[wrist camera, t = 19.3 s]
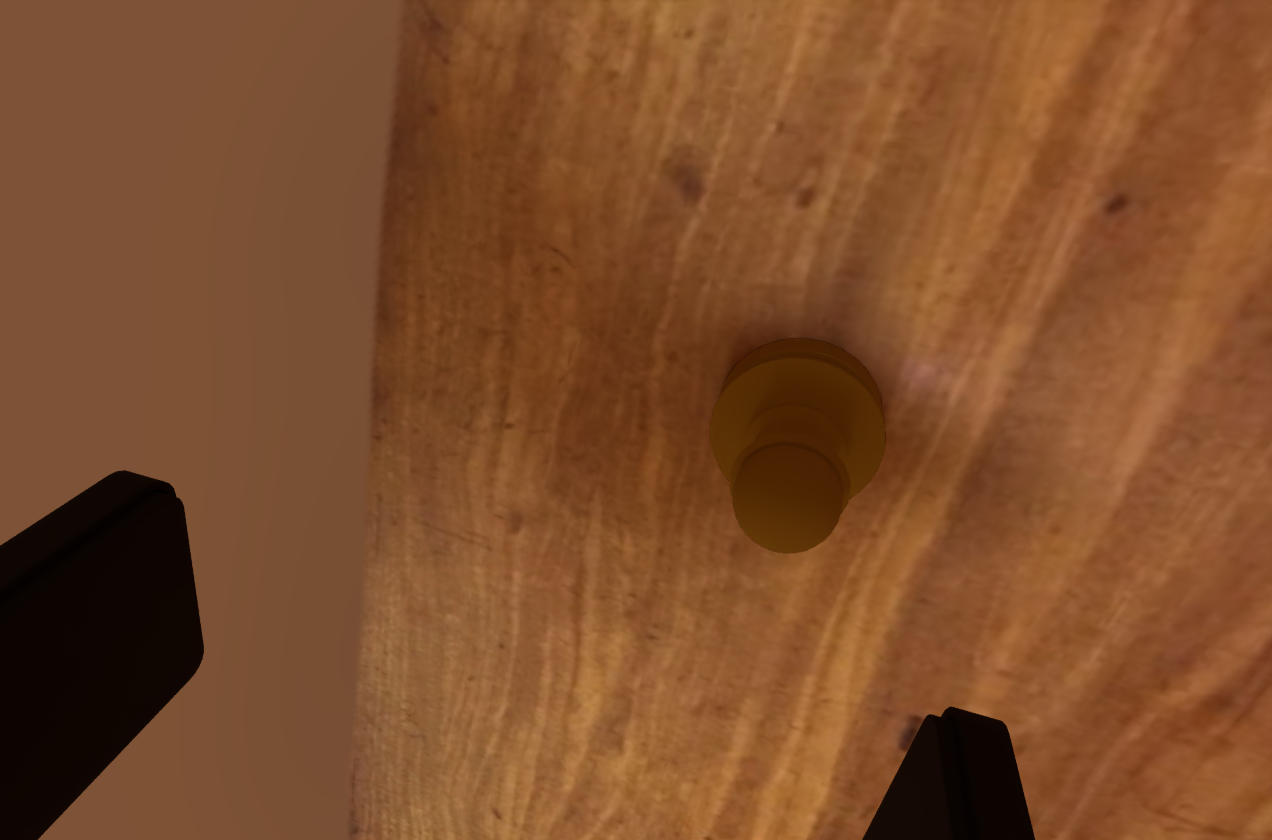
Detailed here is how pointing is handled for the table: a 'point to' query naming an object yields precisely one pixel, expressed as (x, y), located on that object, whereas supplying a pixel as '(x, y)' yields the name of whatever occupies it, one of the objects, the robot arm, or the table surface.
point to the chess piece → (796, 440)
